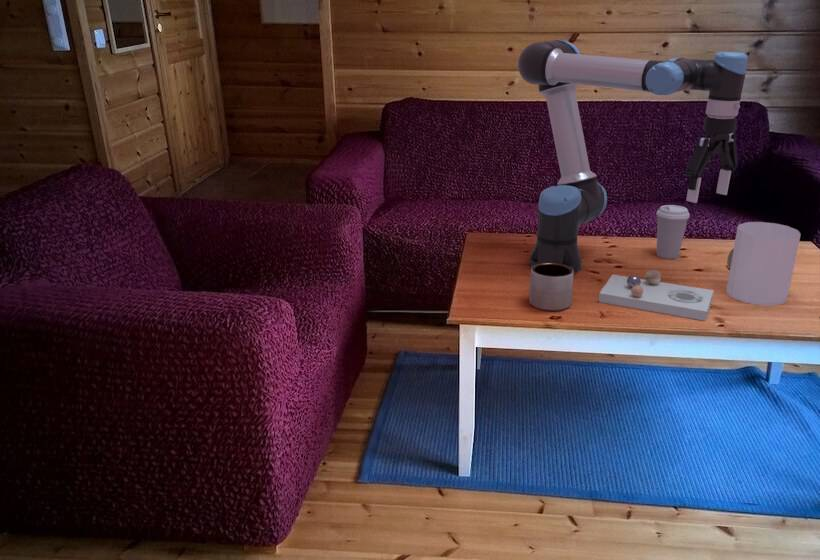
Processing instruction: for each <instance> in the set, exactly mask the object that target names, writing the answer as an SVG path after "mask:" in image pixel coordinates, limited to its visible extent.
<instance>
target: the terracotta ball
mask: <svg viewBox="0 0 820 560" xmlns="http://www.w3.org/2000/svg"><path fill="white" fill-rule="evenodd" d="M631 293H632V295H633V296H635V297H640V296H641V295H642V294H643V288H642V287H641V286H639V285H635V286H633V287H632V289H631Z"/></svg>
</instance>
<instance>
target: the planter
mask: <svg viewBox="0 0 820 560" xmlns="http://www.w3.org/2000/svg"><path fill="white" fill-rule="evenodd" d="M573 273H574V270H573V269H572V268H571V267H570V266H567V265H565V264H560V263H552V262H546V263H539V264H536V265H534V266H532V267H531V268H530V278H529V279H530V280H529V281H530V282H529V294H528V295H529V296H528V300H529V304H530V305H532V306H533V307H534V308H536V309H538V310H541V309H542V311H546V310H547V311H548V312H558V311H563V310H565V309H568V308H569V307H570V306H571V305H572V301H573V300H572V299H573V286H574V274H575V273H574V274H573Z"/></svg>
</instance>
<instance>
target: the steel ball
mask: <svg viewBox="0 0 820 560" xmlns="http://www.w3.org/2000/svg"><path fill="white" fill-rule="evenodd" d="M627 277H628V279H627V285H628V286H629V287H630V288H632V287H633V286H635V285H640V283H641V280H640V279H641V278H640V277H639V276H638V275H636V274H632V275H630V276H627Z"/></svg>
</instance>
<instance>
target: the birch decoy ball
mask: <svg viewBox="0 0 820 560" xmlns="http://www.w3.org/2000/svg"><path fill="white" fill-rule="evenodd" d="M644 278H645V279H644V280H646V281H647V282H648V283H649V284H657V283H658V282H661V279H662V274H661V272H660V271H659V270H657V269H654V268H653V269H649V270H648V271H647V272H646V273H645V276H644Z"/></svg>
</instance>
